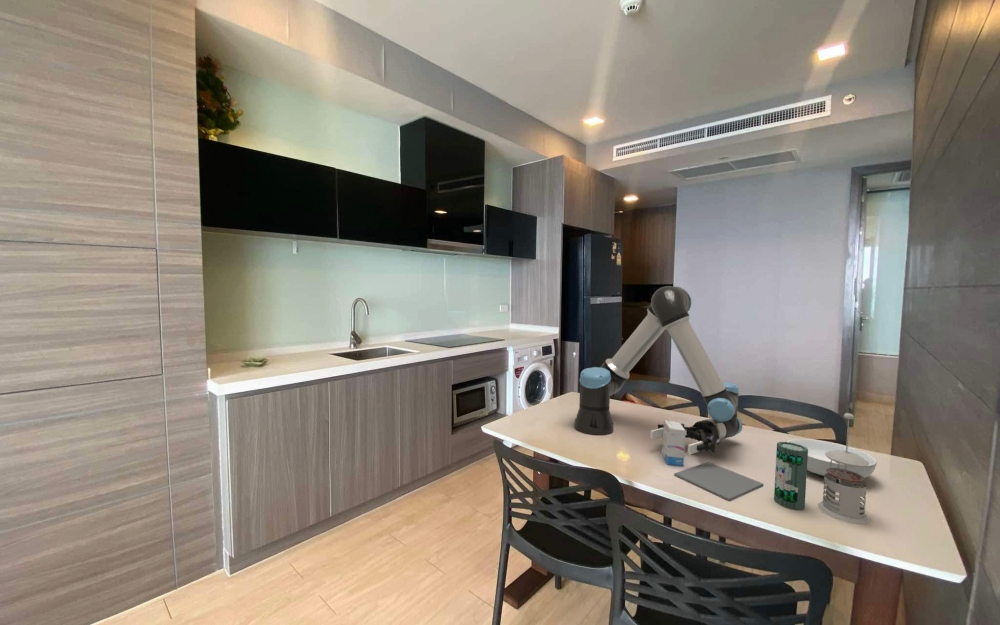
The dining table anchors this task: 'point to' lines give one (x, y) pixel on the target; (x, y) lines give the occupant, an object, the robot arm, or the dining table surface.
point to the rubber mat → (719, 480)
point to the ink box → (673, 443)
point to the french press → (845, 487)
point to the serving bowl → (821, 462)
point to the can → (790, 475)
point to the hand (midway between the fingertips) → (669, 441)
